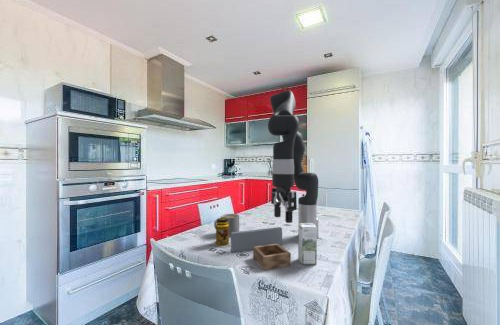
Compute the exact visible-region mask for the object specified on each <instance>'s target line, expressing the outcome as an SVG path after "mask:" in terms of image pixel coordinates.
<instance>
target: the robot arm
mask: <svg viewBox="0 0 500 325" xmlns="http://www.w3.org/2000/svg"><path fill="white" fill-rule="evenodd" d="M269 101H270V105H271V109H272V111H273V114H272V115H271V116H270V117H269V119H268V123H267V129H268V132H269V133H270V134H271V135H272V136H281V138H282V141H278V142H275V143H274V144H273V146H272V166H271V167H272V168H271V169H272V171H271V172H272V174H271V175H272V176H271V178H272V180H271V183H272V184H271V185H272V186H273V187H272V188H271V198H270V199H271V204H272V205H273V207H274V210H273V213H274V214H273V215H274V218H281V216H282V215H281V214H282V213H281V212H282V210H281V209H282V207H281V205H282V206H284V208H285V209H284V211H285V215H284V216H285V217H284V218H285V219H284V220H285V222H286V223H287V224H291V223H293V213H294V211H296V210H297V211H298V212H297V213H298V218H297V220H298V221H297V222H298V223H313V224H314V225H315V226H316V227H317V239H318V238H319V218H318V215H317V214H318V213H317V212H318V210H317V209H318V207H317V204H318V203H317V202H318V198H319V197H318V196H319V177H318V175H317V174H316V173H314V172H305V171H304V169H303V165H302V163H303V159H304V156H305V152H306V151H305V150H306V146H305V142H304V139H303V136H302V134H301V133H300V132H299V127H300V120H299V118H298V116H296V115H295V114H294V111H295V110H296V105H297V104H296V98H295V96H294V93H293V91H291V90H289V89H288V90H284V91H282V92H278V93H276V94H272V95H271V96H270V98H269ZM294 186H295V187H296V188H297V189H298V190H301V191H306V192H305V195H303V196H300V197H299V198H298V199H297V191H295V190H293V191H292V190H291V189H292V188H293V187H294ZM297 200H298V201H297ZM297 203H298V204H297ZM297 207H298V208H297Z"/></svg>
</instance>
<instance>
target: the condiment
mask: <svg viewBox="0 0 500 325" xmlns="http://www.w3.org/2000/svg"><path fill="white" fill-rule="evenodd" d="M215 239H216V240H215V241H213V242H211V243H210V245H212V246H215V247H220V248H225V247H227V246H230V245H231V241H230V237H229V224H228V219H227V218H221V217H219V218H217V224H216V229H215Z"/></svg>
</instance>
